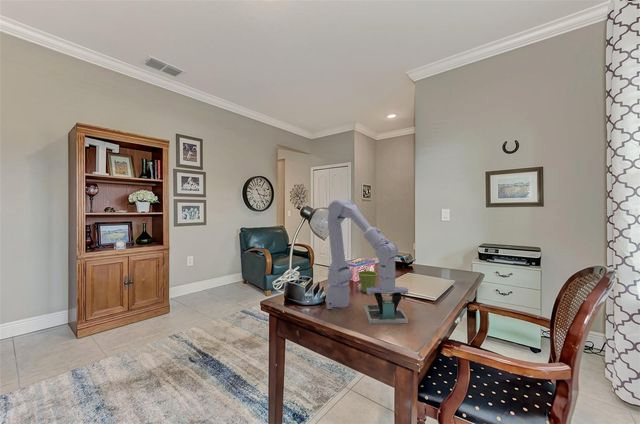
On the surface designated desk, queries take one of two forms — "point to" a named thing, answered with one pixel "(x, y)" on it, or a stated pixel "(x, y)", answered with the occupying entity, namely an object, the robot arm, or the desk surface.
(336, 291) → the robot arm
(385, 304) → the block
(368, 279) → the plant pot
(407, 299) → the desk surface
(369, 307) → the lid
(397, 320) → the case
